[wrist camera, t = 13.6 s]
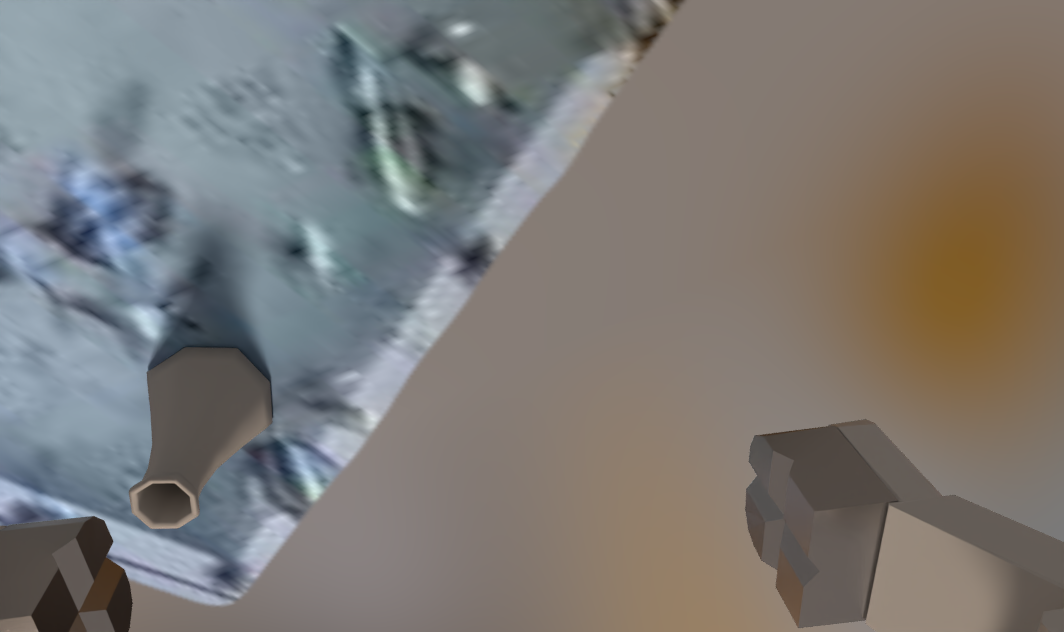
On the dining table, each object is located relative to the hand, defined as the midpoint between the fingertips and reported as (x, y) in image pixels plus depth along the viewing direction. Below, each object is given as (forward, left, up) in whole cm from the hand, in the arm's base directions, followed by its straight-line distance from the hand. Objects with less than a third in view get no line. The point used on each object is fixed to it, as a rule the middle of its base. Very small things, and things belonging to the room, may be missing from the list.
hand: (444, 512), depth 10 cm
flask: (+2, -23, -34) cm, 41 cm away
